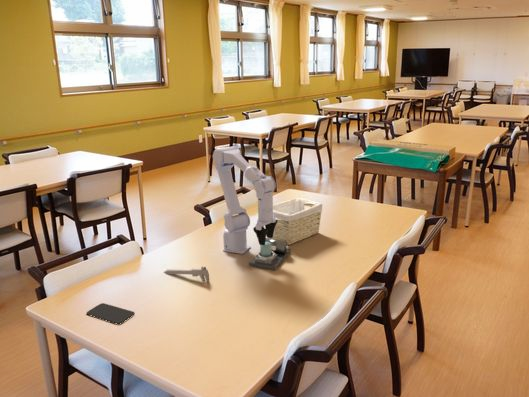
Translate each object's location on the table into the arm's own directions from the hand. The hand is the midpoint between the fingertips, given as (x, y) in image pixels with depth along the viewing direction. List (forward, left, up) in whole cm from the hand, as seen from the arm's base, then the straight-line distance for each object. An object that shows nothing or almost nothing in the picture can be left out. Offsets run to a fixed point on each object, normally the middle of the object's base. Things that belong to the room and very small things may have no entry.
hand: (266, 241), depth 176 cm
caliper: (-23, -22, -10) cm, 34 cm away
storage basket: (0, +31, -10) cm, 33 cm away
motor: (0, +4, -9) cm, 10 cm away
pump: (0, -1, -6) cm, 6 cm away
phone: (-32, -53, -10) cm, 63 cm away
